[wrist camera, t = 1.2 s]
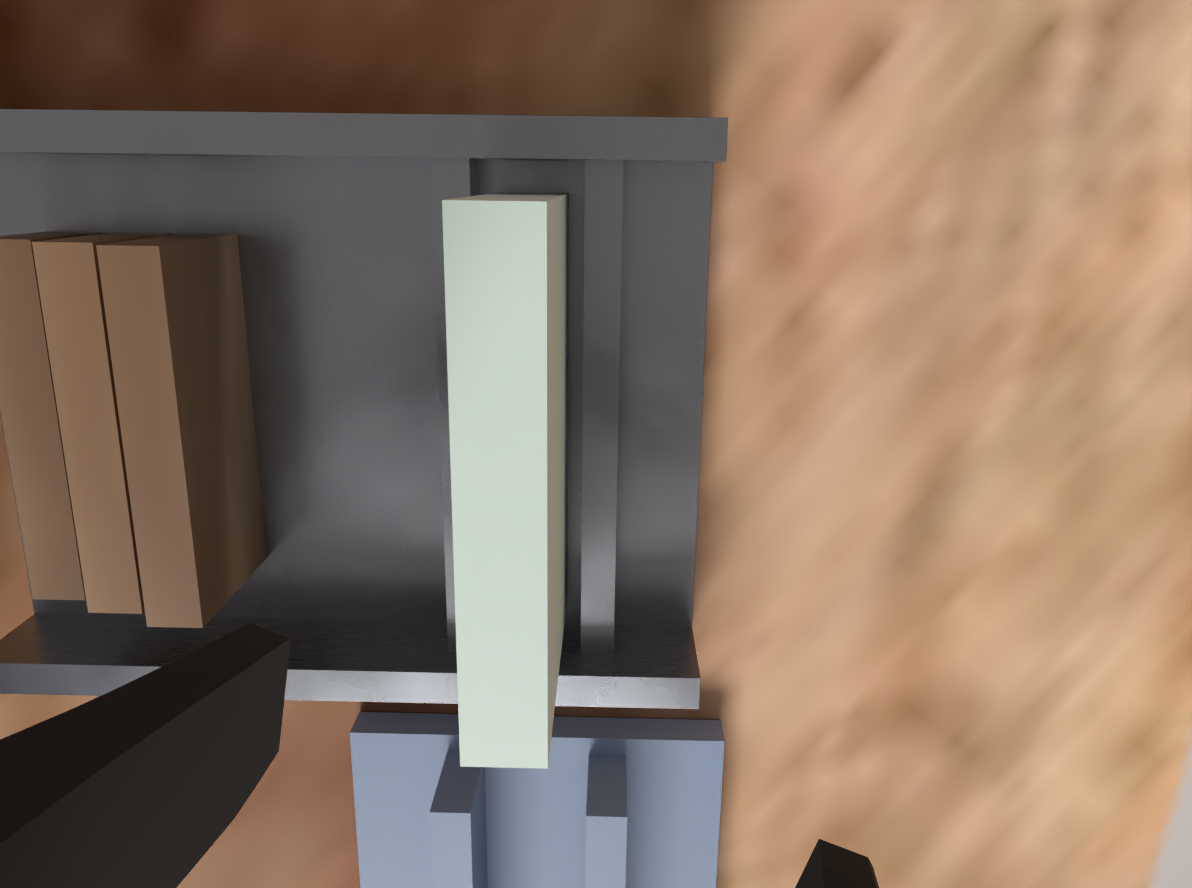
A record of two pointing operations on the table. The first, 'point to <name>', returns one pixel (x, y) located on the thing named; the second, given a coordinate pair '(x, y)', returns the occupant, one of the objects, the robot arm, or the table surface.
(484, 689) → the pale green slab
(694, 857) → the sheet stand
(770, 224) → the table surface
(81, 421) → the offcut stack
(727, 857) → the table surface
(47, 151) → the slotted rack
